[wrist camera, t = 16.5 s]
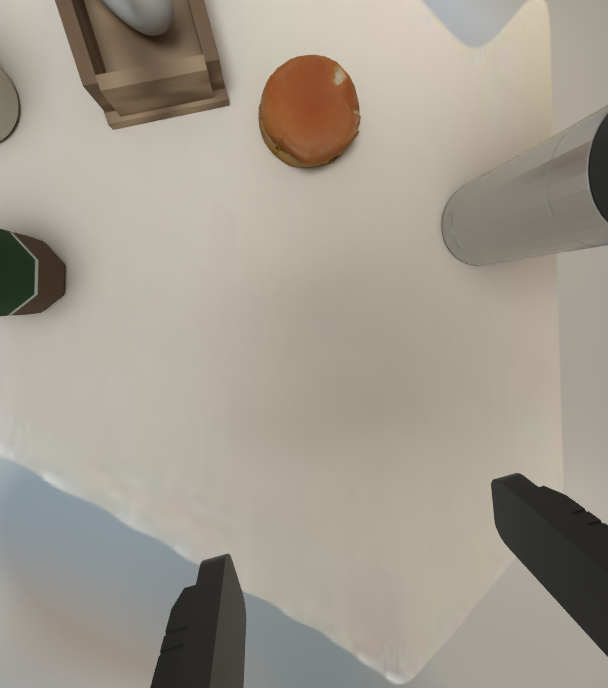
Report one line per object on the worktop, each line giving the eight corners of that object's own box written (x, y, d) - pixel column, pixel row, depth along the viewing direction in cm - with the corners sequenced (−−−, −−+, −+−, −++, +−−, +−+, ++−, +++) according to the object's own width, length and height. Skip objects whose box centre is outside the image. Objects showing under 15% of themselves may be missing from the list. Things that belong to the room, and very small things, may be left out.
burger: (245, 145, 34) (243, 120, 30) (282, 57, 34) (286, 19, 29) (330, 190, 36) (340, 174, 31) (367, 108, 35) (383, 80, 31)
